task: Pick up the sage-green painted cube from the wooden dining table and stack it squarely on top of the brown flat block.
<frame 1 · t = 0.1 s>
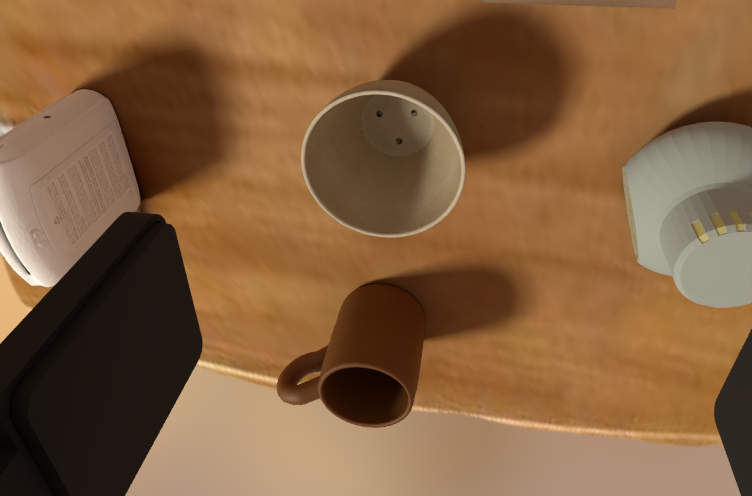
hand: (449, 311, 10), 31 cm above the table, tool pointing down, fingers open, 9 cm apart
mug: (361, 315, 54), on the table
air freshener: (687, 179, 41), on the table
flower pot: (397, 119, 42), on the table
photo printer: (108, 148, 47), on the table
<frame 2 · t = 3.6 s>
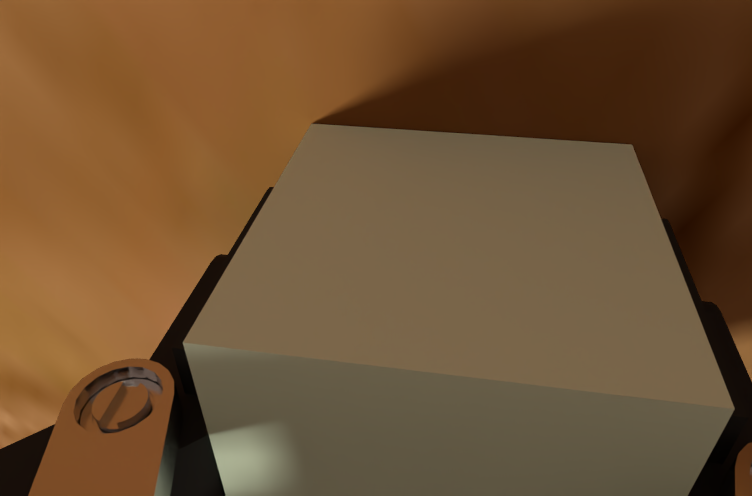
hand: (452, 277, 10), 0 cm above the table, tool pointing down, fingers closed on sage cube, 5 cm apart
sage cube: (454, 259, 11), on the table, touching gripper
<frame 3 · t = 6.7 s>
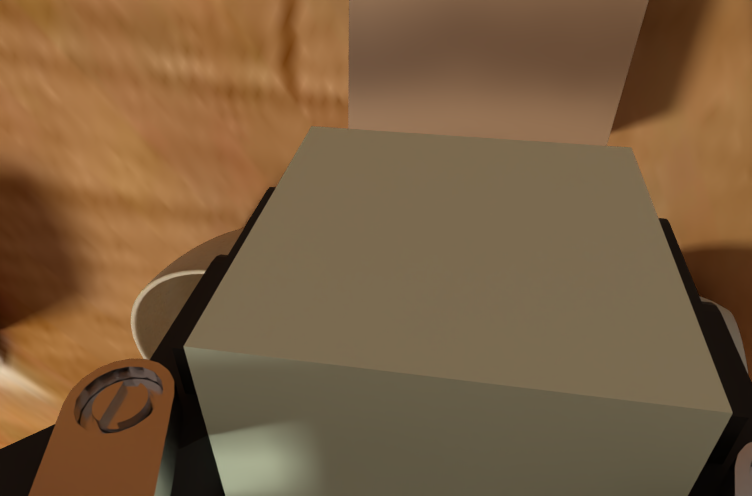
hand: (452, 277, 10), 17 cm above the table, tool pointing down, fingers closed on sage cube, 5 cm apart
sage cube: (454, 261, 11), point 17 cm above the table, touching gripper
air freshener: (633, 336, 33), on the table
flower pot: (277, 260, 34), on the table
brown flat block: (488, 13, 24), on the table
when the fingers open (5 cm above the table, at t = 9.6 s): sage cube drops 1 cm, point 4 cm above the table.
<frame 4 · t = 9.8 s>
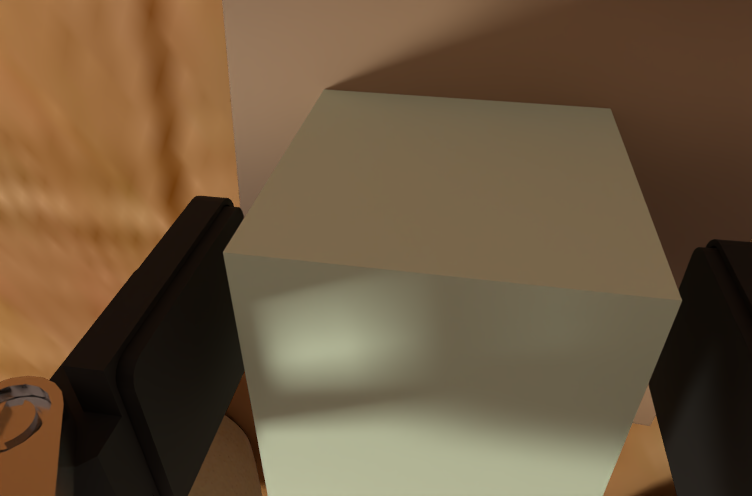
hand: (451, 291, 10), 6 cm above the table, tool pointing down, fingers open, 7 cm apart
sage cube: (451, 217, 12), point 4 cm above the table
flower pot: (193, 432, 25), on the table
brown flat block: (482, 140, 15), on the table
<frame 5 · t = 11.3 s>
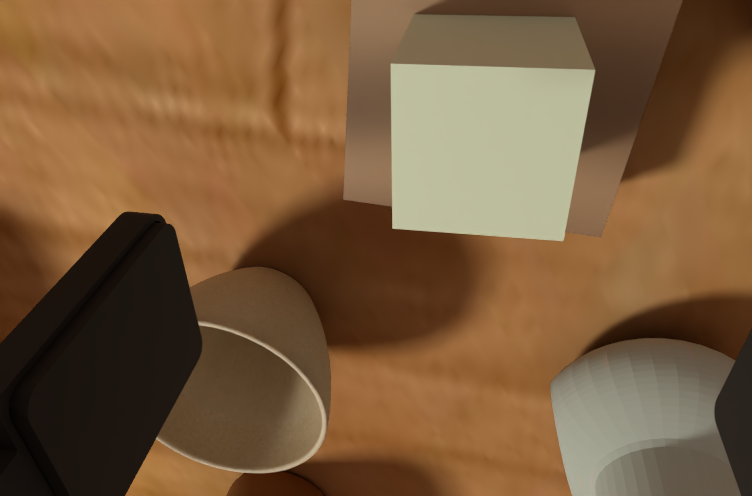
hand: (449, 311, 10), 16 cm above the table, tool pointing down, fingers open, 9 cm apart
sage cube: (486, 92, 20), point 4 cm above the table
air freshener: (638, 384, 32), on the table
flower pot: (269, 301, 33), on the table
brown flat block: (493, 58, 24), on the table
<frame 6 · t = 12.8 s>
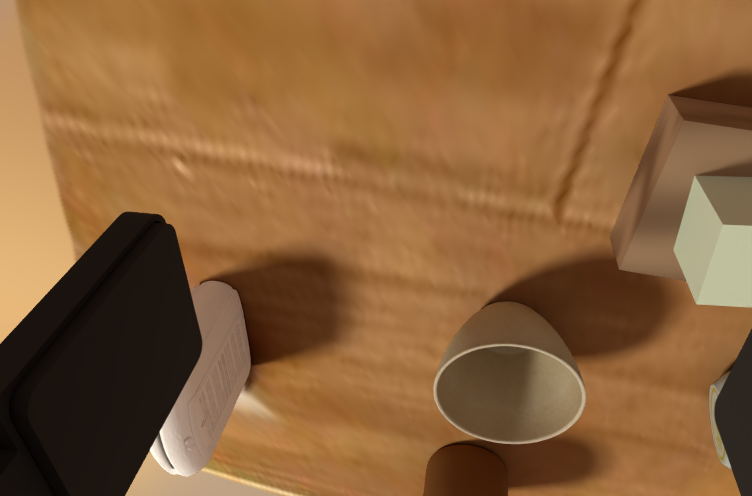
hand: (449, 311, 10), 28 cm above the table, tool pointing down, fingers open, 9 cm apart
mug: (444, 465, 58), on the table
sage cube: (730, 216, 34), point 4 cm above the table, touching brown flat block
flower pot: (506, 324, 46), on the table
photo printer: (226, 324, 51), on the table
brown flat block: (717, 181, 37), on the table, touching sage cube
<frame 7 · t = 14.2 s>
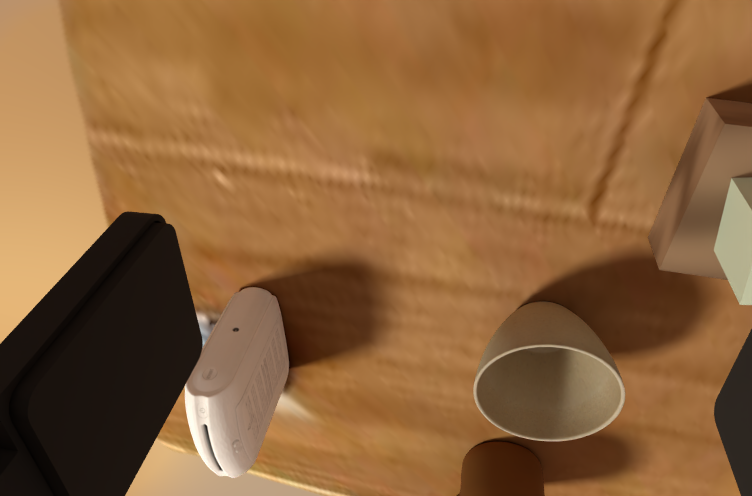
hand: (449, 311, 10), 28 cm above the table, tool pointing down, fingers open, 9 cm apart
mug: (479, 462, 59), on the table
flower pot: (541, 323, 47), on the table
photo printer: (265, 328, 52), on the table
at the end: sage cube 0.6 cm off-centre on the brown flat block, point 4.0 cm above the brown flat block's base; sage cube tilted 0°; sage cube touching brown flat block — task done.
